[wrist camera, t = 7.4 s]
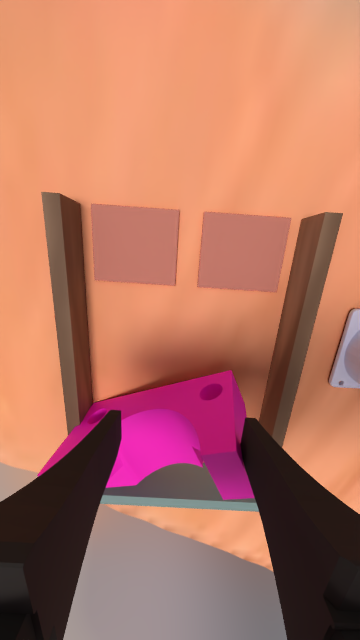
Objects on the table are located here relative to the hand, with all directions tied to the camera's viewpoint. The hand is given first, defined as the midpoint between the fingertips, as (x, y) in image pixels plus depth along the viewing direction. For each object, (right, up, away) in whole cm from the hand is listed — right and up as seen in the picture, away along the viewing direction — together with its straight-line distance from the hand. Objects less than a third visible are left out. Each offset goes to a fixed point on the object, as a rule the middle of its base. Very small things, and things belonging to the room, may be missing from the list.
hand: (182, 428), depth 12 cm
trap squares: (+1, +12, +6) cm, 14 cm away
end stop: (-1, -11, +13) cm, 17 cm away
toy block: (-1, -3, +9) cm, 10 cm away
